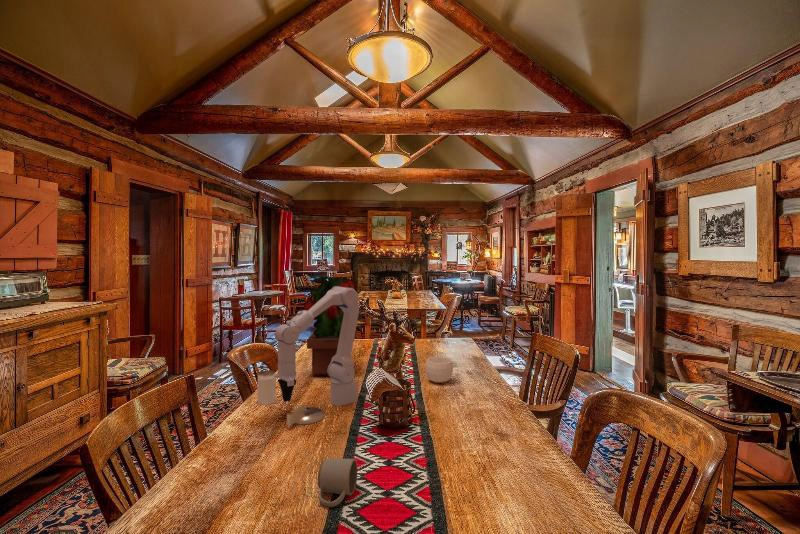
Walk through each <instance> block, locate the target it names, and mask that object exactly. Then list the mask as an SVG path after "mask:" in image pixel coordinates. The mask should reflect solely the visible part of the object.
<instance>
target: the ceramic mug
mask: <svg viewBox="0 0 800 534" xmlns="http://www.w3.org/2000/svg"><path fill="white" fill-rule="evenodd" d="M357 481H358V463H357V460H356V459H355V458H335V457H334V458H333V457H332V458H331V457H330V458H326V459H324V460H322V461H321V463H320V466H319V469H318V473H317V487H318V489H319V490H318V491H319V492H318V496H319V501H320V503H321V504H322V505H323V506H324V507H326V506H329V507H328V508H335V507H336V506H338V505H339V504H341V503H342V501H343V500H344V498H345V496H352V495H353V494H354V492H355V490H356V486H357ZM323 493H329V494H336V495H337V494H338V495H339V497H337V499H334V500H333V501H327V500H325V499H324V498H322V496H323Z"/></svg>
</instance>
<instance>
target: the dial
mask: <svg viewBox="0 0 800 534" xmlns="http://www.w3.org/2000/svg"><path fill="white" fill-rule="evenodd" d="M324 417H325V412H324V410H323V409H322V408H319V407H316V406H306V404H304V403H303V404H301V405H299V406H298V407H296V408H294V409H292V410H290V411H288V412H287V413H286V426H287V427H288V426H289V427H291V426H292V425H295V426H296V425H298V426H305V425H306V426H307V425H312V424H316V423H318V422H320V421H322V420H323V419H324Z"/></svg>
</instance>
